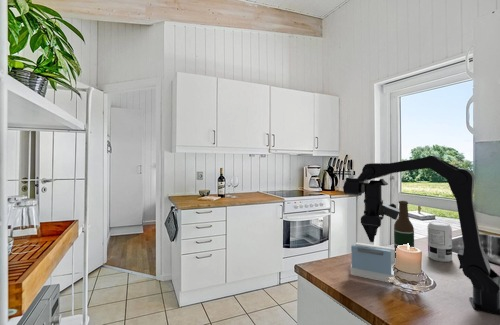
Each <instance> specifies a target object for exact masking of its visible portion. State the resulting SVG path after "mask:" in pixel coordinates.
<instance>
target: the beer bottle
mask: <svg viewBox="0 0 500 325" xmlns="http://www.w3.org/2000/svg"><path fill="white" fill-rule="evenodd" d="M408 205H409V203H408V201H407V200H399V201H398V209H399V210H400V212H399V214H398V217H397V219H396V220H395V222H394V224H393V239H394V240H393V248H395V251H396V248H397V246H398V245H403V244H407V243H409V245H410V247H414V248H415V228H414V225H413V223H412V222H411V220H410V216H409V209H408Z"/></svg>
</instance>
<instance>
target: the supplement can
mask: <svg viewBox="0 0 500 325" xmlns="http://www.w3.org/2000/svg"><path fill="white" fill-rule="evenodd" d="M452 231H453V229H452V226H451V225H450V224H449V223H447V222H441V221H430V222H429V223H428V224H427V256H428V257H429V258H430V259H432V261H433V260H434V261H437V262H442V263H449V262H451V261H453V232H452Z"/></svg>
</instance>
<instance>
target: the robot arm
mask: <svg viewBox="0 0 500 325" xmlns="http://www.w3.org/2000/svg"><path fill="white" fill-rule="evenodd" d="M423 169H430V170H431V171H434V173H436V174H438V175H439V176H441V177H442V178H444V179H445V180H446V181H447V183H448V185H449V188H450V191H451V193H452V195H453V197H454V199H455V201H456V206H457V213H458V219H459V224H460V230H461V236H462V243H463V249H459V250H458V252H457V255H456V256H457V259H458V262H459V267H458V269H459V270H461V269H462V273H463V275H464V276H465V277H467V278H468V279H469V281H470V282H471V284H472V297H469V301H470V304H471V305H472V308H473V309H474V310H476V311H480V312H487V313H491V314H494V315H498V316H500V275H499V274H498V273H497V272H496V271H495V270H494V269H492V267H491V264H490V262H489V259H488V257H487V254H486V253H485V250H484V249H483V246H482V243H481V238H480V232H479V224H478V219H477V215H476V209H475V202H474V191H475V179H476V178H475V174H474V172H473V171H472V170H469V169H468V168H464V167H462V168H461V167H460V168H459V167H457V166H455V165H453V164H451V163H449V162H447V161H445V160H443V159H442V158H440V157H439V156H436V155H428V156H426V157H425V156H424V157H420V158H419V157H418V158H414V159H408V160H401V161H394V162H390V163H389V162H377V163H376V162H375V163H373V162H371V163H366V164H364V166H363V167H362V169H361V173H360V174H359V176H358V177H357V178H355V177H345V181H344V183H343V187H342V190H343V194H345V195H347V196H348V195H349V196H358V197H359V196H362V194H364V199H363V203H364V210H363V215H362V216H360V224H361V226H362V227H363V230H364V232H365V234H366V236H367V237H368V241H369V242H370V243H375V238H376V236H377V235H378V234H377V233H378V229H379V228H380V227H381V226H382V220H383V219H384V216H387V217H389V218H391V219H392V220H395V221H396V220H397V219H398V216H399V212H400V210H399V208H397V204H395V203H390V204H386V203H384V200H383V199H382V192H383V191H382V188H383V187H382V186H387V185H389V182H387V181H385V180H384V178H383V177H385V176H389V175H391V174H396V173H402V172H409V171H417V170H423ZM376 179H378V180H376ZM365 181H367V182H365ZM368 181H369V182H368Z"/></svg>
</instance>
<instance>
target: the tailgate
mask: <svg viewBox="0 0 500 325" xmlns="http://www.w3.org/2000/svg"><path fill="white" fill-rule="evenodd" d="M351 265H352V268H357V269H362V270H367V271H372V272H377V273H382V274H387V275H391V251H390V250H383V249H377V248H370V247H363V246H356V244H351Z"/></svg>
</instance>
